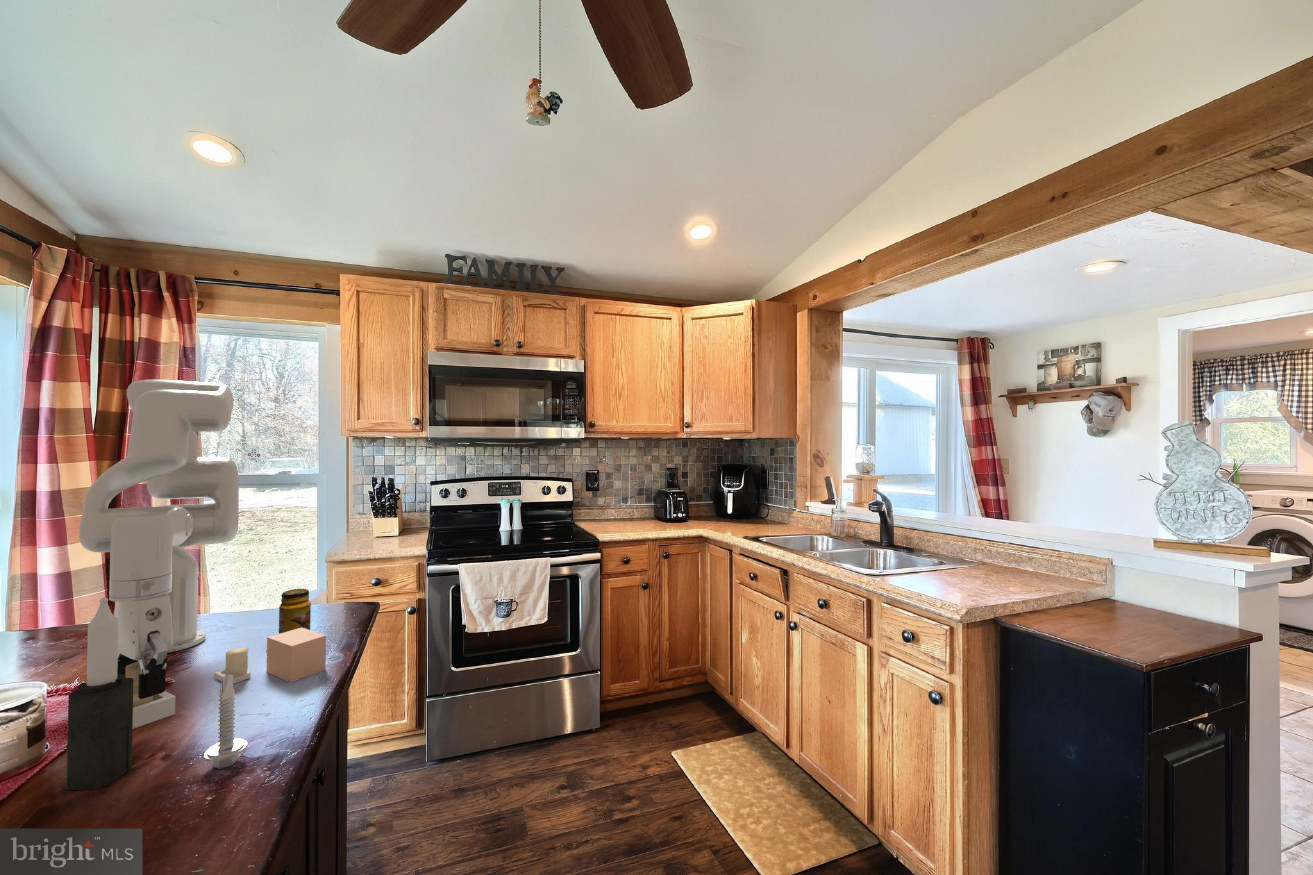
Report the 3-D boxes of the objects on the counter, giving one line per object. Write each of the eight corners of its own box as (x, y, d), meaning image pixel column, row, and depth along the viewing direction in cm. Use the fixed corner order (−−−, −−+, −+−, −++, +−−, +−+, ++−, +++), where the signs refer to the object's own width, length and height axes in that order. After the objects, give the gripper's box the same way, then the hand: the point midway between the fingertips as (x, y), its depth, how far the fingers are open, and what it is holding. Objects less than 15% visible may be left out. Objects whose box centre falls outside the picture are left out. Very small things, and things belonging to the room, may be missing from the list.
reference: (214, 677, 103) (214, 649, 103) (235, 670, 106) (235, 643, 106) (230, 685, 100) (230, 656, 100) (251, 677, 103) (251, 649, 104)
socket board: (88, 712, 90) (88, 695, 90) (142, 695, 96) (143, 679, 96) (118, 733, 84) (119, 714, 84) (174, 713, 90) (175, 696, 90)
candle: (98, 767, 75) (101, 592, 75) (136, 765, 76) (140, 592, 76) (60, 790, 70) (64, 603, 70) (102, 789, 71) (106, 602, 71)
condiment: (311, 645, 120) (312, 592, 120) (265, 653, 116) (266, 598, 116) (311, 635, 126) (312, 585, 126) (268, 642, 122) (269, 590, 122)
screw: (254, 752, 79) (233, 772, 74) (218, 754, 79) (195, 775, 74) (255, 665, 79) (235, 680, 75) (220, 667, 79) (197, 682, 74)
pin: (120, 720, 88) (122, 666, 88) (147, 711, 91) (148, 658, 91) (129, 725, 86) (130, 670, 86) (156, 716, 89) (157, 662, 89)
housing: (266, 671, 106) (267, 637, 106) (300, 660, 112) (301, 627, 112) (291, 682, 102) (291, 646, 102) (325, 669, 108) (326, 635, 108)
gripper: (193, 588, 88) (191, 691, 88) (149, 574, 96) (147, 668, 96) (132, 600, 81) (130, 711, 81) (90, 584, 89) (88, 685, 89)
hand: (139, 688), depth 88 cm, fingers open, 9 cm apart
